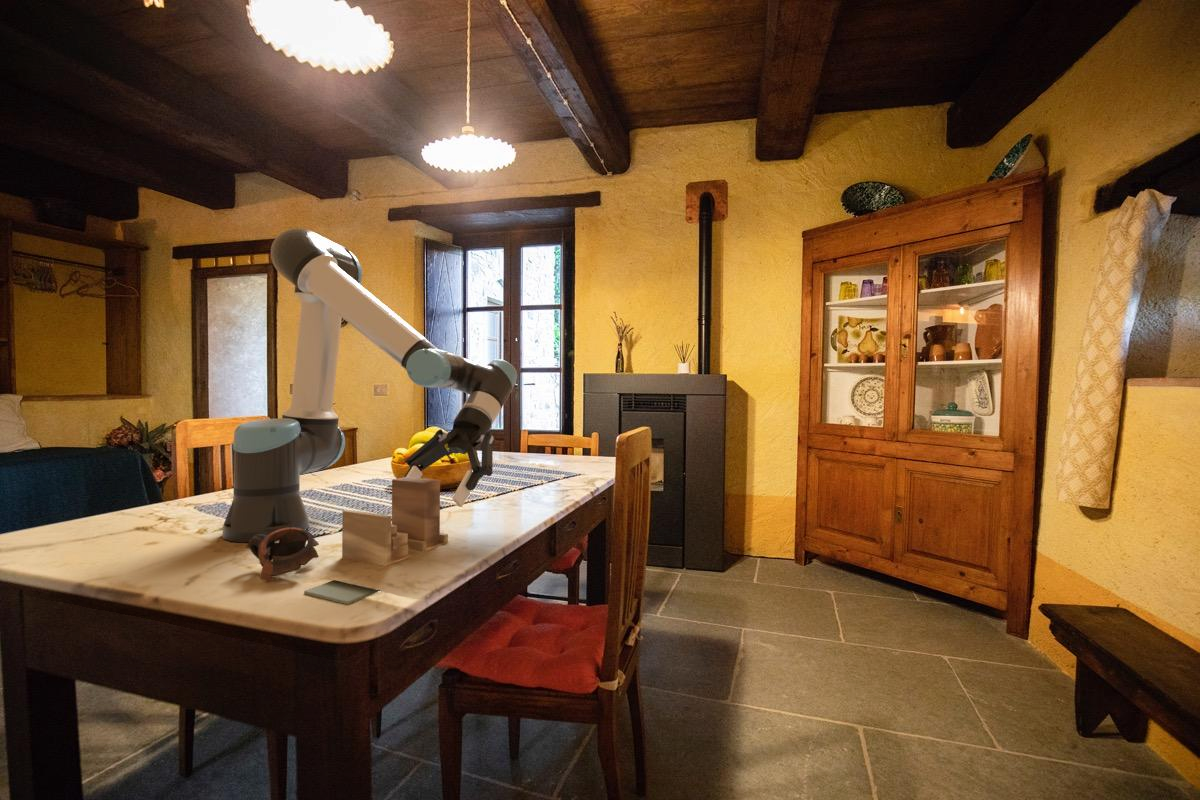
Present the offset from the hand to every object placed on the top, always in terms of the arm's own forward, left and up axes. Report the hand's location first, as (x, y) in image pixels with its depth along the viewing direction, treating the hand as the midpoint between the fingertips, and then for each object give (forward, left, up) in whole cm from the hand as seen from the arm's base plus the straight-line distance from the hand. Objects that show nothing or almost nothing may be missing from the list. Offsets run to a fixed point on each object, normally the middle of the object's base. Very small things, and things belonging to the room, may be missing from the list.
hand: (428, 499), depth 100 cm
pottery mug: (+13, -20, -10) cm, 26 cm away
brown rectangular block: (+1, -2, -8) cm, 8 cm away
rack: (+5, -4, -9) cm, 11 cm away
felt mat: (+21, -6, -9) cm, 23 cm away
